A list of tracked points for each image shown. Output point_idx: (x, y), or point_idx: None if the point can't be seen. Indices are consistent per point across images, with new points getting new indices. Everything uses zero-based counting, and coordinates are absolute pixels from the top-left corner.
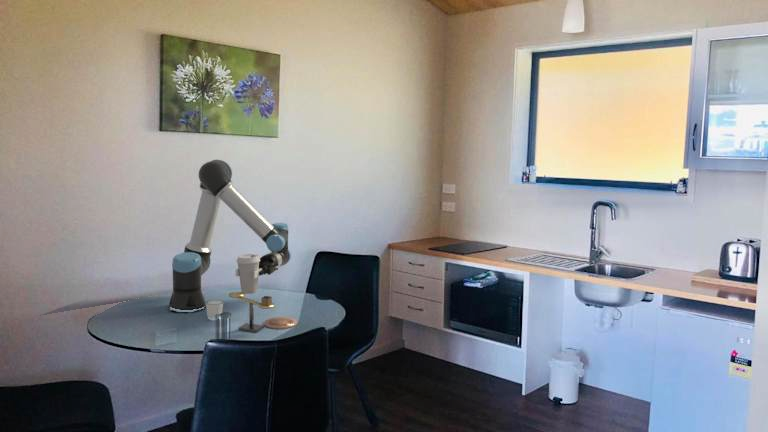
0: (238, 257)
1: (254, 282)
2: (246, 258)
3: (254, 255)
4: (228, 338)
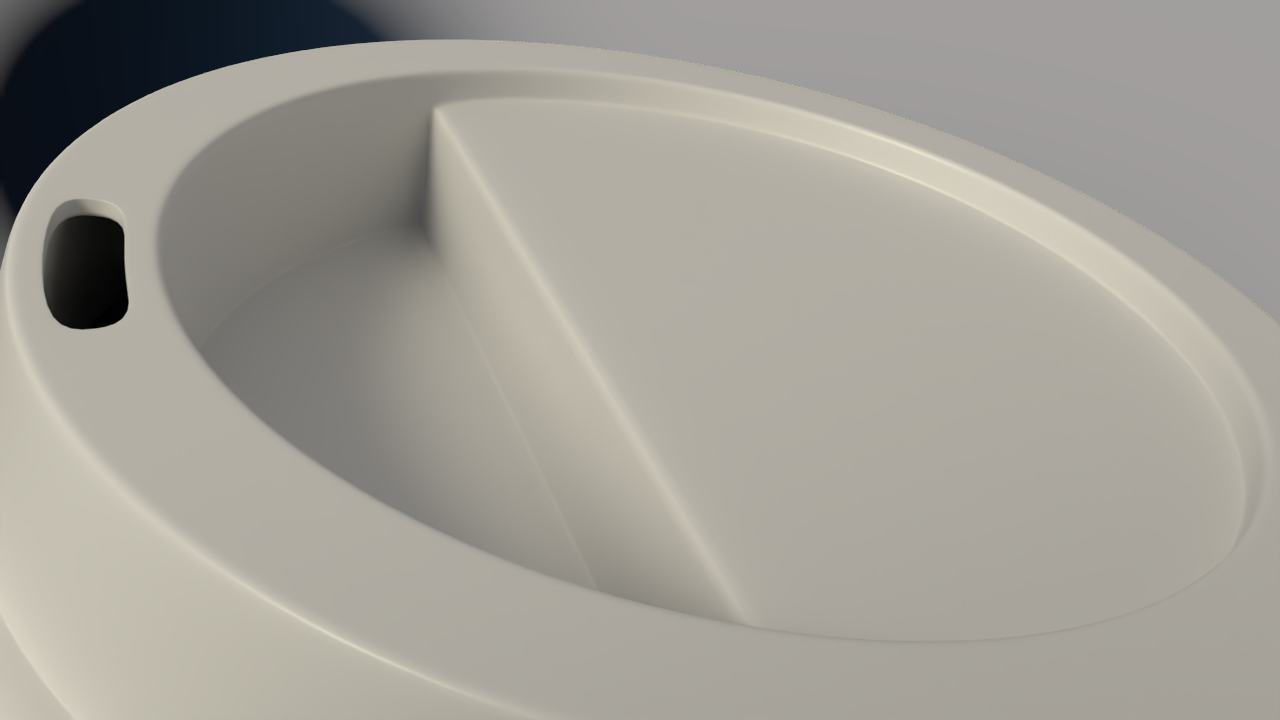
0: (1082, 210)
1: None
2: (599, 57)
3: (394, 560)
4: None
